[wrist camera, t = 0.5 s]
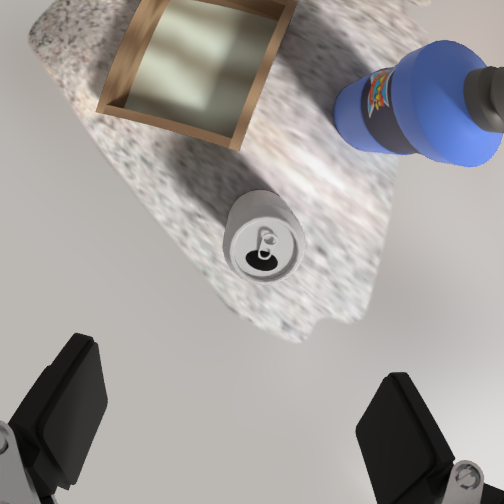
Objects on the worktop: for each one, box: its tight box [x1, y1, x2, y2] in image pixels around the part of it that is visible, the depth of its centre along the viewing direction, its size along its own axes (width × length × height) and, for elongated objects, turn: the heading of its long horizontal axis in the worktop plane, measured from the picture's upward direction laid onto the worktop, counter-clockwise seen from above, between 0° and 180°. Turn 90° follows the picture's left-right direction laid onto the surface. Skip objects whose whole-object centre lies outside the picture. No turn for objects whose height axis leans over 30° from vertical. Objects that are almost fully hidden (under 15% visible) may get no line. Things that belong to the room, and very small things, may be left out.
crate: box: [96, 0, 298, 151], centre depth 28 cm, size 18×16×6 cm
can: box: [223, 190, 306, 285], centre depth 31 cm, size 8×8×12 cm
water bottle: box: [333, 40, 504, 167], centre depth 21 cm, size 9×9×25 cm
